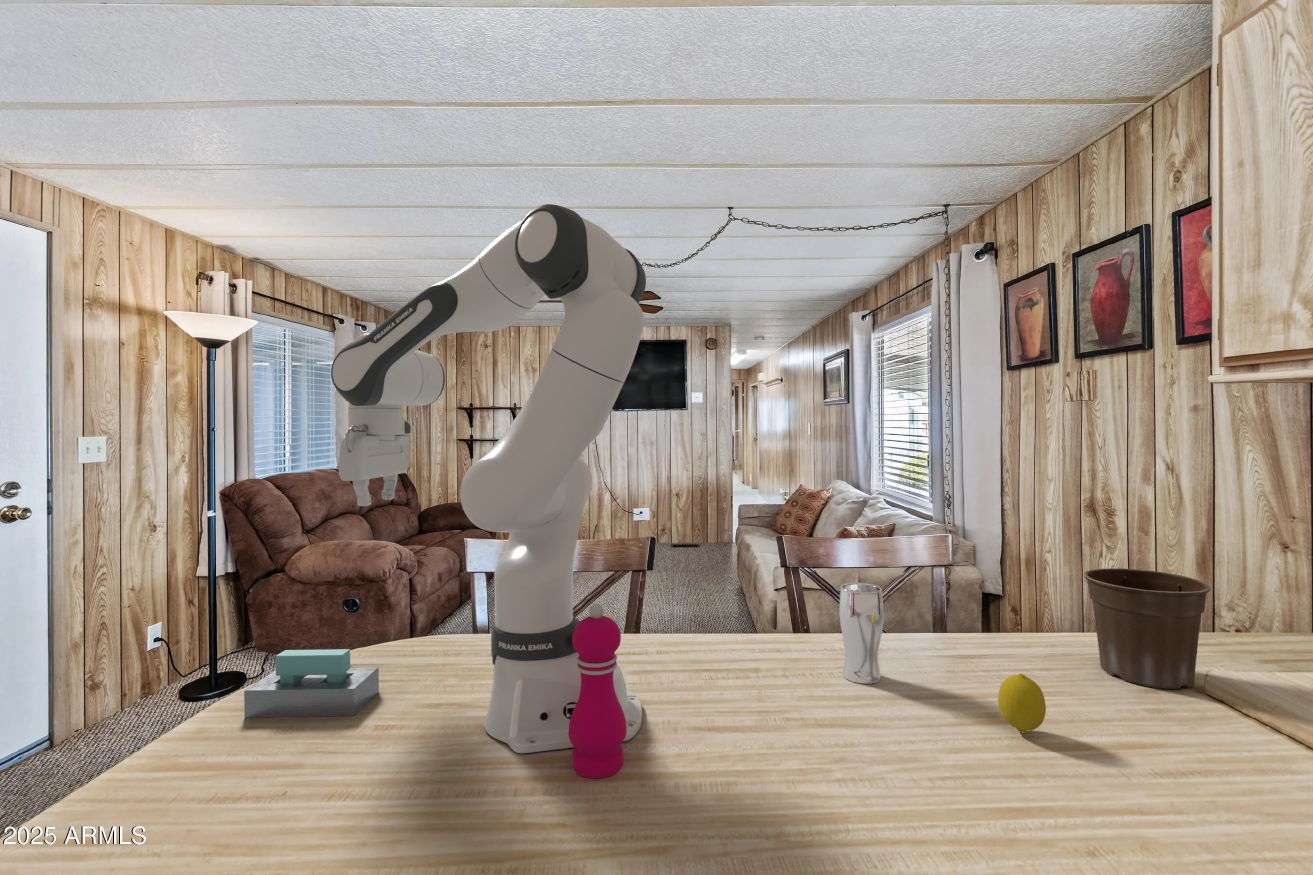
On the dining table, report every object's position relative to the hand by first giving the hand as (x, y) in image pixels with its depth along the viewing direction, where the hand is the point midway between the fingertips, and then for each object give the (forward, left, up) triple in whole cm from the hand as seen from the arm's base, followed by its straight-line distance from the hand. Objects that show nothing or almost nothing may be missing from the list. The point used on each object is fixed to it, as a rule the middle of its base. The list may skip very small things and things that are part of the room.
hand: (376, 502), depth 107 cm
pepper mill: (-42, +34, -29) cm, 61 cm away
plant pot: (-131, +10, -29) cm, 135 cm away
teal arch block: (+3, +16, -29) cm, 33 cm away
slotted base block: (+3, +16, -29) cm, 33 cm away
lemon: (-99, +28, -29) cm, 107 cm away
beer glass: (-84, +9, -29) cm, 90 cm away
